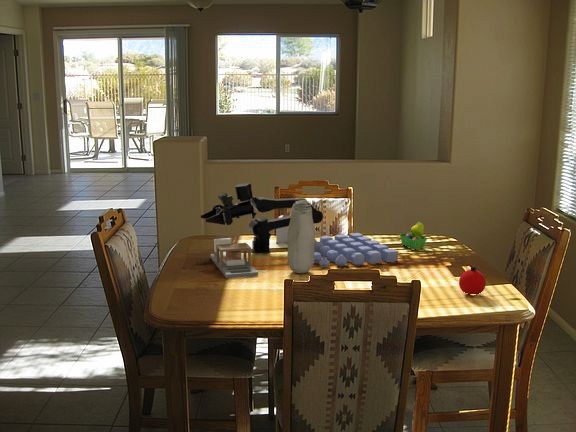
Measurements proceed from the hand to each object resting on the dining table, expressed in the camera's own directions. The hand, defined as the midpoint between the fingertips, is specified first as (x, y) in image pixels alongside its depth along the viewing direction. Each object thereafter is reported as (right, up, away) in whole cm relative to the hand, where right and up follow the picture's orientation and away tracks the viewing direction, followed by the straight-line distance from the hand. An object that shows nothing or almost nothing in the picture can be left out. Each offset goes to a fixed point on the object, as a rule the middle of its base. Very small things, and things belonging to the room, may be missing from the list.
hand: (203, 218), depth 272 cm
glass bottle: (+40, -21, -18) cm, 48 cm away
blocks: (+57, -16, +8) cm, 60 cm away
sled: (+11, -16, -5) cm, 20 cm away
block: (+14, -16, -13) cm, 25 cm away
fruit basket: (+91, -13, +22) cm, 94 cm away
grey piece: (+14, -19, -12) cm, 26 cm away
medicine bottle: (+33, -11, +29) cm, 46 cm away
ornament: (+98, -26, -43) cm, 110 cm away
